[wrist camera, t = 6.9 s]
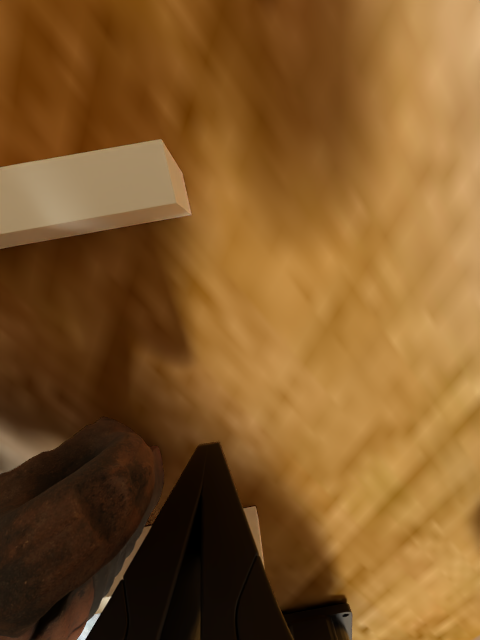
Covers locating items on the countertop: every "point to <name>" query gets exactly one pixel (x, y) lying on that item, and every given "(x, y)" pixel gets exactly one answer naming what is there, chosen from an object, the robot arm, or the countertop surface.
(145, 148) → the cream bay
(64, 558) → the brown looped piece
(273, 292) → the countertop surface
